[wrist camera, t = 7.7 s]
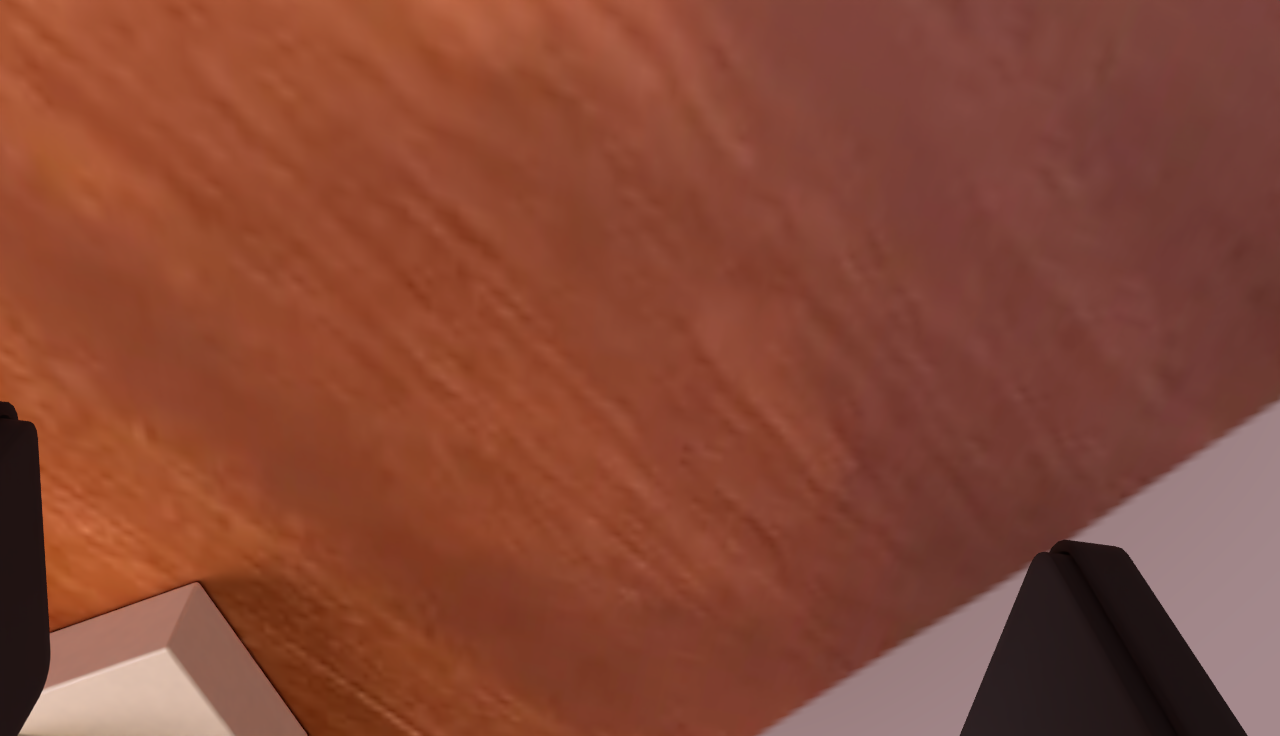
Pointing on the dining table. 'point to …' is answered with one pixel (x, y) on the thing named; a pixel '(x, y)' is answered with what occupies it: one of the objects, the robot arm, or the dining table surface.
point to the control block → (157, 676)
